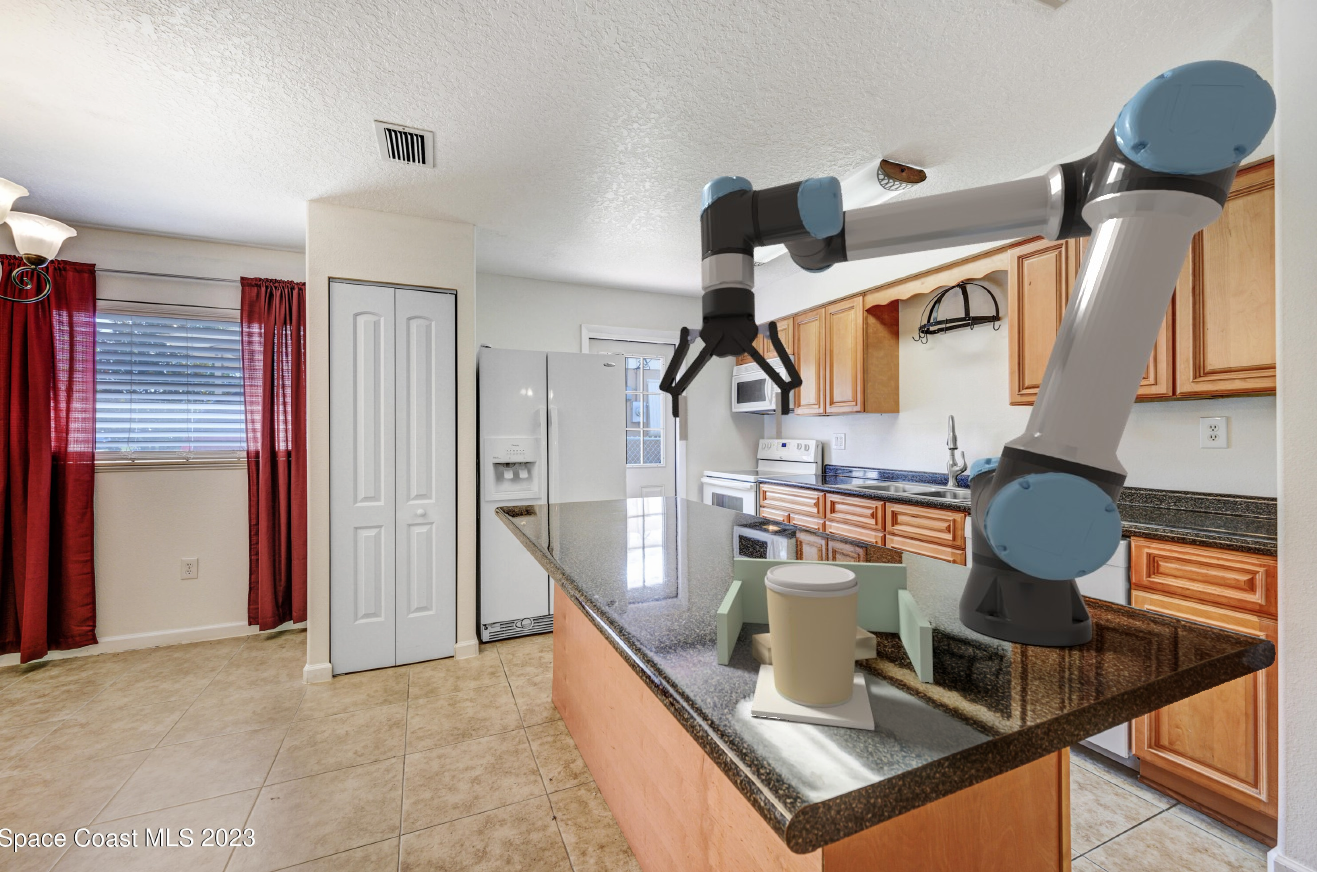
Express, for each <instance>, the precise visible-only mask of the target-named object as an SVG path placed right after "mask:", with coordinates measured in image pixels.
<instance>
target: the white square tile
mask: <svg viewBox="0 0 1317 872" xmlns="http://www.w3.org/2000/svg"><path fill="white" fill-rule="evenodd" d="M865 681H866V680H865V676H864V673H863V672H862V673H861V672H854V683H853V694H852V697H851V699H850V700H849V701H848V702H847V703H845V704H843V705H840V706H836V707H827V708H818V707H809V706H803V705H800V704H796V703H793V702H791V701H788V700H786V699H785V698H783V697H782V696H780V695H779V693H778V692H777V691H776V688H775V683H774V673H773V665H763V664H761V663H760V668H759V672H758V675H757V681H756V684H755V685H756V686H755V691H754V695H753V700H752V704H751V710H750V715H751V714H752V715H756V716H766V717H777V718H780V719H786V720H785V721H788V720H789V722H799V723H805V724H817V725H825V726H833V727H840V728H841V727H842V728H852V729H860V730H866V731H867V730H869V731H875V722H874V716H873V713H872V709H871V704H870V698H869V695H868V690H867V686H866V682H865Z"/></svg>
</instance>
